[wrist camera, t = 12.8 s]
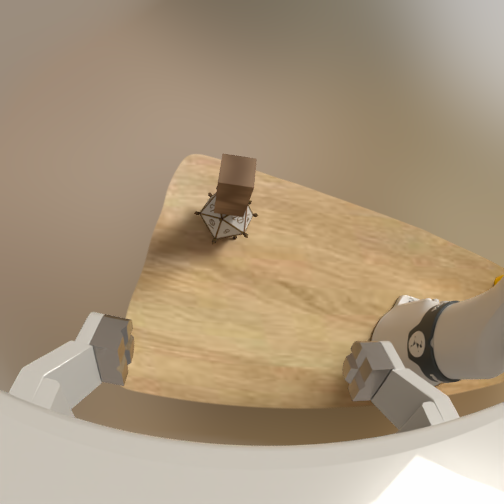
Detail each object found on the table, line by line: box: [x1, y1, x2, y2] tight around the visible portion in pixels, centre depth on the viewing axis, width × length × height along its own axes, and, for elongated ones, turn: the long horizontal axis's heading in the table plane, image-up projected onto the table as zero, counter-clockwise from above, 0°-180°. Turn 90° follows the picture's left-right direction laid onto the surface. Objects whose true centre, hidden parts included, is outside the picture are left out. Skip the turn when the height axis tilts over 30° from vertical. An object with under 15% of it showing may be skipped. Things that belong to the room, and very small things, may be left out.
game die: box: [194, 188, 258, 244], centre depth 45 cm, size 9×8×10 cm
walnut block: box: [214, 154, 256, 217], centre depth 37 cm, size 4×4×8 cm
